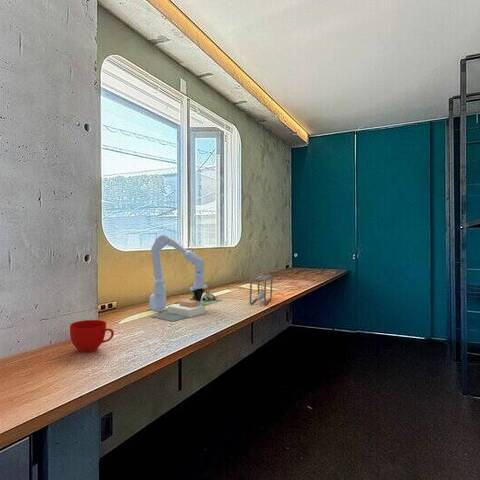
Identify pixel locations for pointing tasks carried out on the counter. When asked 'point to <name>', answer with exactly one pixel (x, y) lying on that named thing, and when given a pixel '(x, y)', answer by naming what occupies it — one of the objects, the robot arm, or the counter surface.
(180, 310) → the white platform
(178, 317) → the mat
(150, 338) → the counter surface
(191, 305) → the tile
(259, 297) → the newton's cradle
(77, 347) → the ceramic cup
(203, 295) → the decorative card
